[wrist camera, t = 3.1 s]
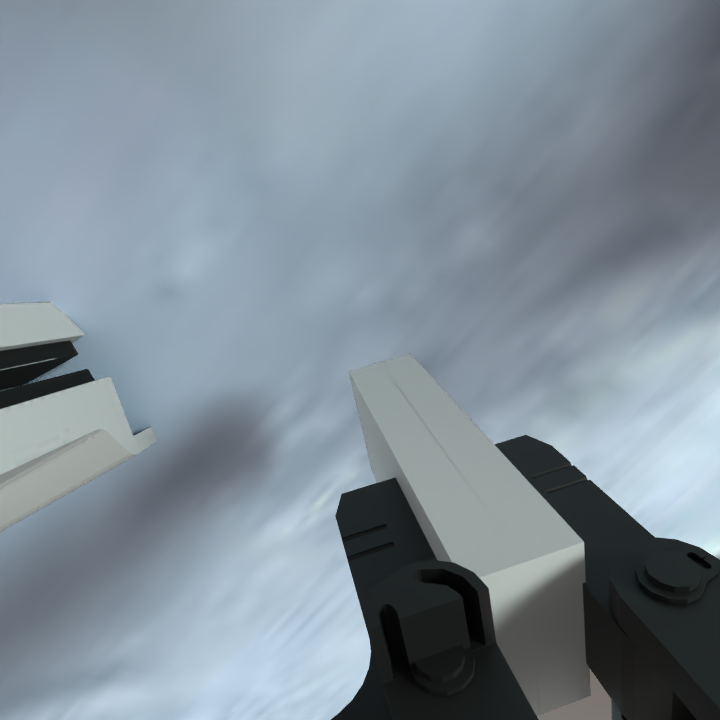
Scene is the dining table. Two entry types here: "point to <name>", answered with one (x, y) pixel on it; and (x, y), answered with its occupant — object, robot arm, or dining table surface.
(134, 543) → the dining table surface
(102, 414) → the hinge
